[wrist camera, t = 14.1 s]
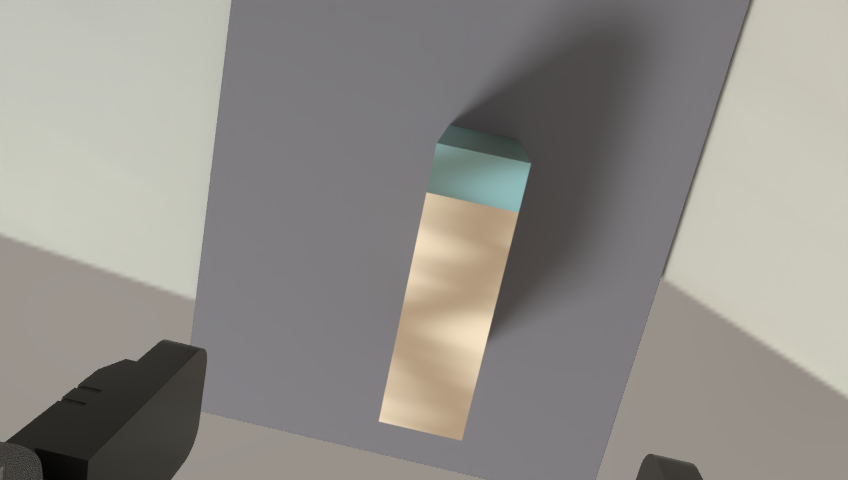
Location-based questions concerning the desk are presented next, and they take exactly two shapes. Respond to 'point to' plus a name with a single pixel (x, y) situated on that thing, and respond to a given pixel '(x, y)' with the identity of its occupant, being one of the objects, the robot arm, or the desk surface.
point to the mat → (404, 200)
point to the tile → (454, 280)
